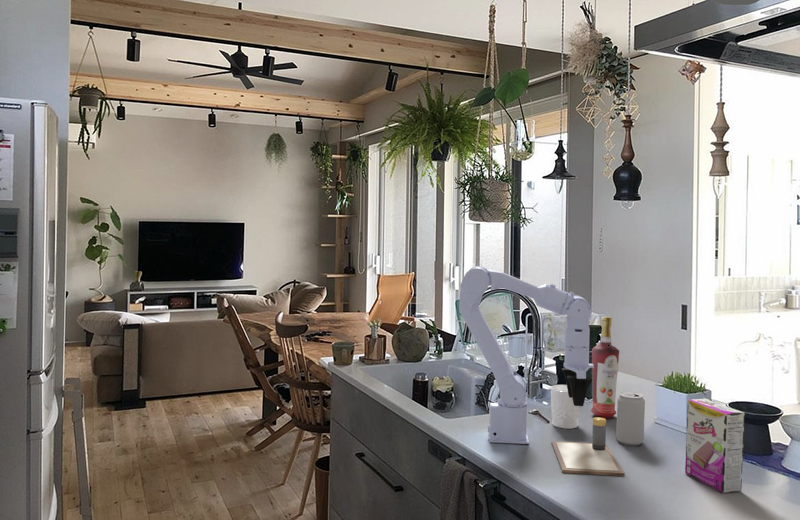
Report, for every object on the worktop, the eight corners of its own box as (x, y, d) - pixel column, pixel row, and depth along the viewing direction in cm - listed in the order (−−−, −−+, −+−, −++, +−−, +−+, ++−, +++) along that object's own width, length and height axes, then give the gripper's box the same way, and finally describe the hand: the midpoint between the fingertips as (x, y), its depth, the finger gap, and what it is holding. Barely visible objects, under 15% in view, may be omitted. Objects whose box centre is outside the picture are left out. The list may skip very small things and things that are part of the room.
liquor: (598, 420, 178) (601, 319, 177) (584, 413, 186) (587, 315, 184) (622, 419, 180) (625, 318, 179) (607, 412, 187) (611, 315, 186)
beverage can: (645, 447, 157) (647, 398, 156) (617, 445, 158) (619, 396, 158) (641, 439, 163) (642, 392, 163) (614, 437, 165) (616, 390, 164)
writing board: (562, 472, 140) (562, 469, 140) (551, 443, 159) (551, 440, 159) (624, 475, 139) (624, 472, 139) (606, 446, 158) (606, 443, 157)
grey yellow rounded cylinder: (593, 450, 152) (594, 420, 152) (591, 445, 155) (591, 417, 155) (606, 450, 152) (607, 421, 152) (604, 446, 155) (604, 417, 155)
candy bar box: (683, 473, 140) (686, 398, 140) (702, 471, 142) (705, 397, 141) (722, 494, 130) (726, 413, 129) (742, 492, 131) (746, 411, 130)
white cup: (578, 421, 177) (579, 385, 177) (581, 430, 170) (582, 392, 169) (549, 419, 179) (550, 383, 178) (550, 428, 171) (551, 390, 171)
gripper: (599, 352, 150) (598, 410, 151) (588, 341, 165) (587, 394, 166) (568, 351, 151) (567, 409, 152) (560, 340, 166) (559, 393, 166)
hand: (575, 401), depth 159 cm, fingers open, 7 cm apart
